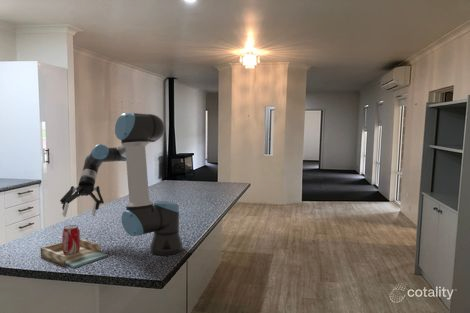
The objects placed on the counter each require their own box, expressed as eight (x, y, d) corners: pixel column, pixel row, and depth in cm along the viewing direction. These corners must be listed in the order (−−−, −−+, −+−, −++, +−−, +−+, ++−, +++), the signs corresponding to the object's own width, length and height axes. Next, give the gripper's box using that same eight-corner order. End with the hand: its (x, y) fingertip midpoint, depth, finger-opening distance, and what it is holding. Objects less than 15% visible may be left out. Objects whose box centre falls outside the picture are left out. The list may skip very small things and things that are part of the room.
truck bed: (109, 256, 156) (108, 247, 156) (71, 268, 141) (71, 259, 141) (78, 245, 170) (78, 237, 169) (40, 256, 155) (40, 247, 154)
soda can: (59, 254, 155) (58, 227, 154) (71, 249, 162) (71, 224, 161) (71, 256, 153) (70, 229, 152) (83, 251, 159) (83, 225, 158)
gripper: (113, 184, 185) (107, 218, 171) (64, 184, 182) (53, 219, 168) (111, 175, 179) (103, 210, 165) (60, 175, 176) (48, 211, 162)
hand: (78, 215), depth 166 cm, fingers open, 13 cm apart
